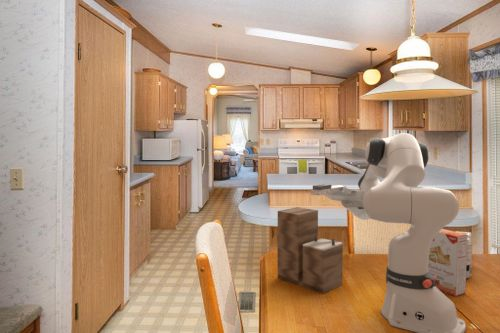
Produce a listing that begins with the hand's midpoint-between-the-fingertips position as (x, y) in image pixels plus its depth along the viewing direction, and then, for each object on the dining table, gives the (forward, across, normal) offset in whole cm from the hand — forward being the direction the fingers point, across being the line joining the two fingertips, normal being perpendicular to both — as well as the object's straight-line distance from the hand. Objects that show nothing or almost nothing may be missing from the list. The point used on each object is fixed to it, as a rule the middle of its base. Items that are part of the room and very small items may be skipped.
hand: (337, 187), depth 161 cm
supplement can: (-33, +43, +19) cm, 57 cm away
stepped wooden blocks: (+7, +6, +42) cm, 43 cm away
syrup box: (-43, +41, +13) cm, 61 cm away
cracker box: (-17, +43, +28) cm, 54 cm away
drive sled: (+5, 0, +4) cm, 6 cm away
